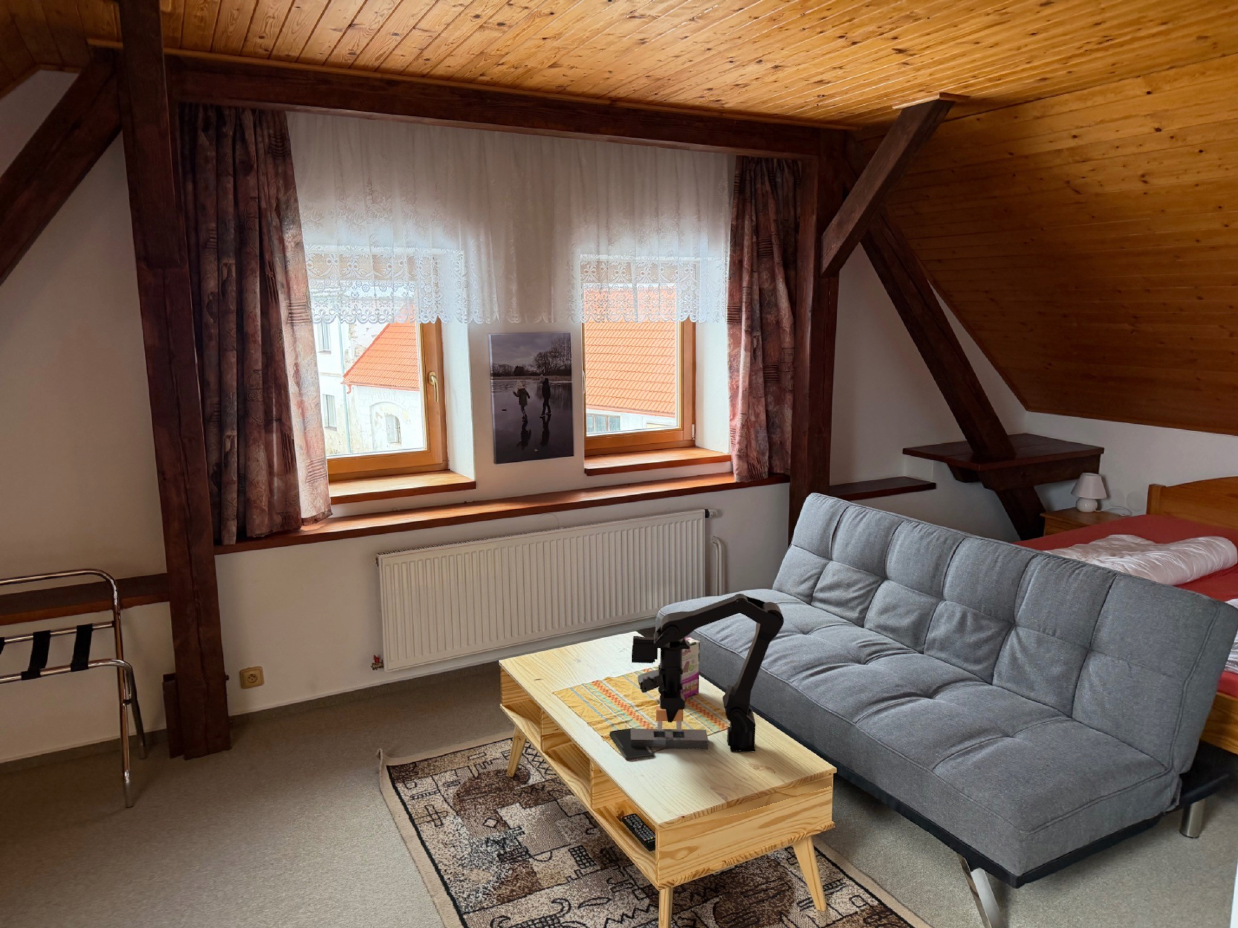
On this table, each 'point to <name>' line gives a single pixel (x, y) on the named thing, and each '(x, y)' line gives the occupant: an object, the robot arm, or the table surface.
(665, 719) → the clip
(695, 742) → the rail
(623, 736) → the phone
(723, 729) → the table surface
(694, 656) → the candy bar box
